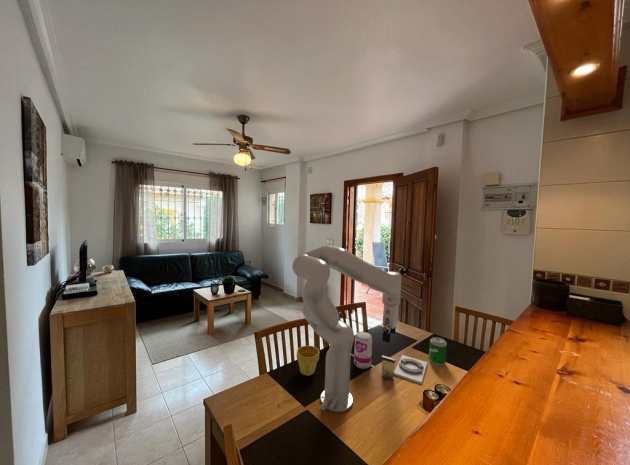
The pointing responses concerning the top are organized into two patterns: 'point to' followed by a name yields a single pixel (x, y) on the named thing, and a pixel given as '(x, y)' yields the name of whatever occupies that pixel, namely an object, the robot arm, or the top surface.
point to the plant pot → (307, 359)
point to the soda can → (437, 351)
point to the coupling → (387, 368)
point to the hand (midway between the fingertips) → (389, 337)
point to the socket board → (411, 369)
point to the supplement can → (363, 350)
